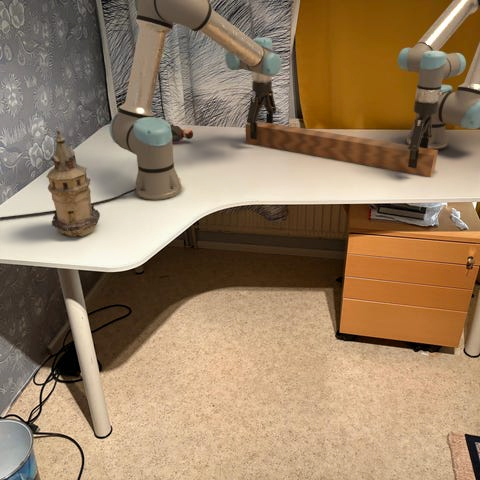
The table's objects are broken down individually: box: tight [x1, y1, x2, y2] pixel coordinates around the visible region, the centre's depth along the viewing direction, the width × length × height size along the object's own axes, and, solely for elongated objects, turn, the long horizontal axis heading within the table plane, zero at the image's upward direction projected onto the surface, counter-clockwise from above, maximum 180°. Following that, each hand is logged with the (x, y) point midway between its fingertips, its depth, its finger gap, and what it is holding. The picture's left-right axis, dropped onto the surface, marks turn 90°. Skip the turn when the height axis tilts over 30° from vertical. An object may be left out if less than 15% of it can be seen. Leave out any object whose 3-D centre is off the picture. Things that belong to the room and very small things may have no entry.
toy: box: [169, 123, 194, 144], centre depth 221 cm, size 26×6×30 cm
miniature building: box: [46, 129, 101, 237], centre depth 148 cm, size 13×14×30 cm
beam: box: [245, 120, 439, 178], centre depth 203 cm, size 74×6×8 cm, turn 59°
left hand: (261, 134), depth 217 cm, fingers open, 13 cm apart
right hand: (417, 161), depth 189 cm, fingers open, 13 cm apart
